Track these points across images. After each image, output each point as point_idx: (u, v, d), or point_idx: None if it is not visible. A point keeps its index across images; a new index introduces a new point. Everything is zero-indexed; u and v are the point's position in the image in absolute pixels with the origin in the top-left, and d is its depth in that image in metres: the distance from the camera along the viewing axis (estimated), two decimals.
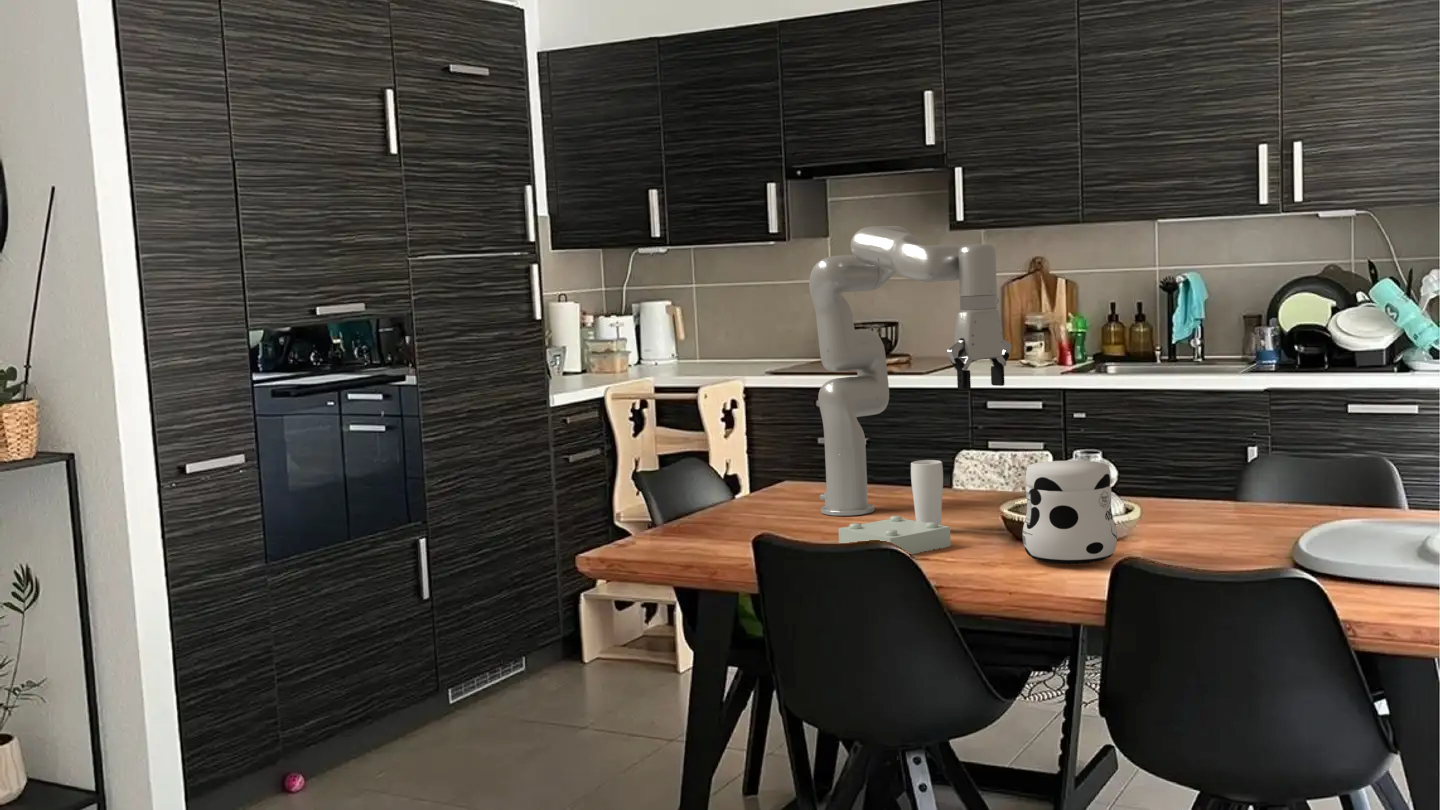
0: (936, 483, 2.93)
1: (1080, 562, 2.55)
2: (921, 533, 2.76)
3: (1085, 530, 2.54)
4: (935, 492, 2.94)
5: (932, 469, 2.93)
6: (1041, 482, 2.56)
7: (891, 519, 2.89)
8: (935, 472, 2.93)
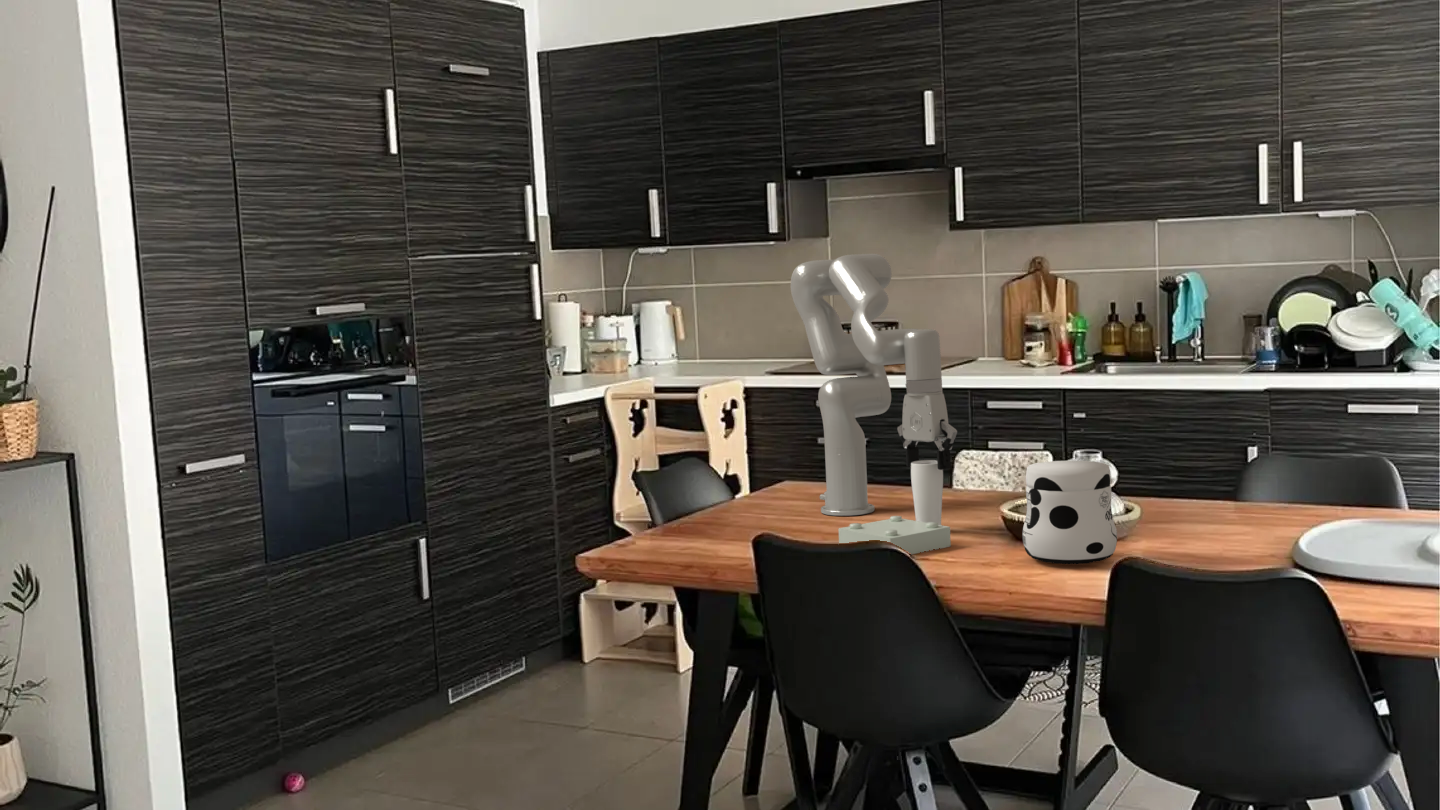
0: (936, 483, 2.93)
1: (1080, 562, 2.55)
2: (921, 533, 2.76)
3: (1085, 530, 2.54)
4: (935, 492, 2.94)
5: (932, 469, 2.93)
6: (1041, 482, 2.56)
7: (891, 519, 2.89)
8: (935, 472, 2.93)
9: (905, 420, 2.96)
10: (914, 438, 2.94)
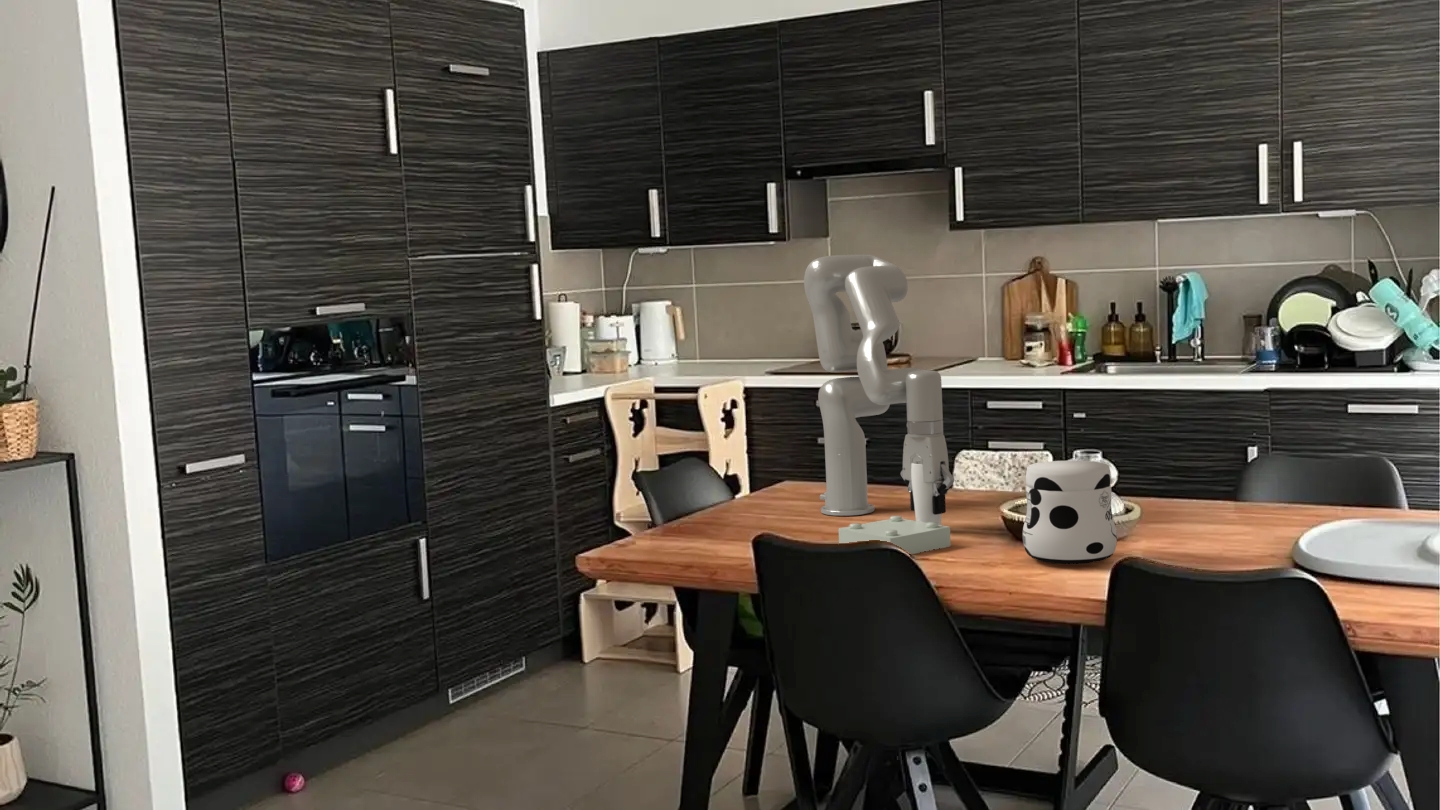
0: None
1: (1080, 562, 2.55)
2: (921, 533, 2.76)
3: (1085, 530, 2.54)
4: None
5: None
6: (1041, 482, 2.56)
7: (891, 519, 2.89)
8: None
9: (905, 460, 2.97)
10: None
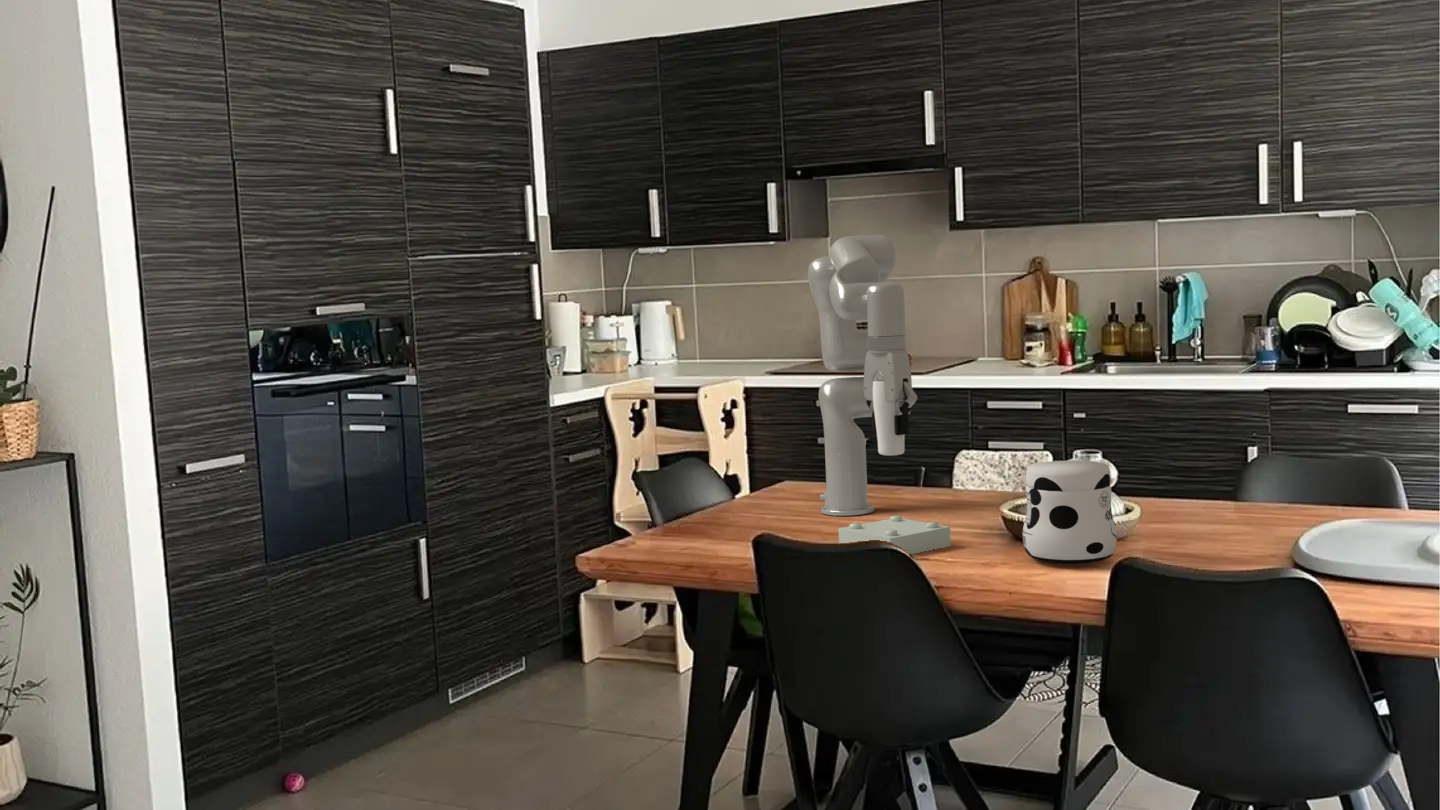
0: None
1: (1080, 562, 2.55)
2: (921, 533, 2.76)
3: (1085, 530, 2.54)
4: None
5: None
6: (1041, 482, 2.56)
7: (891, 519, 2.89)
8: None
9: (867, 379, 2.81)
10: None
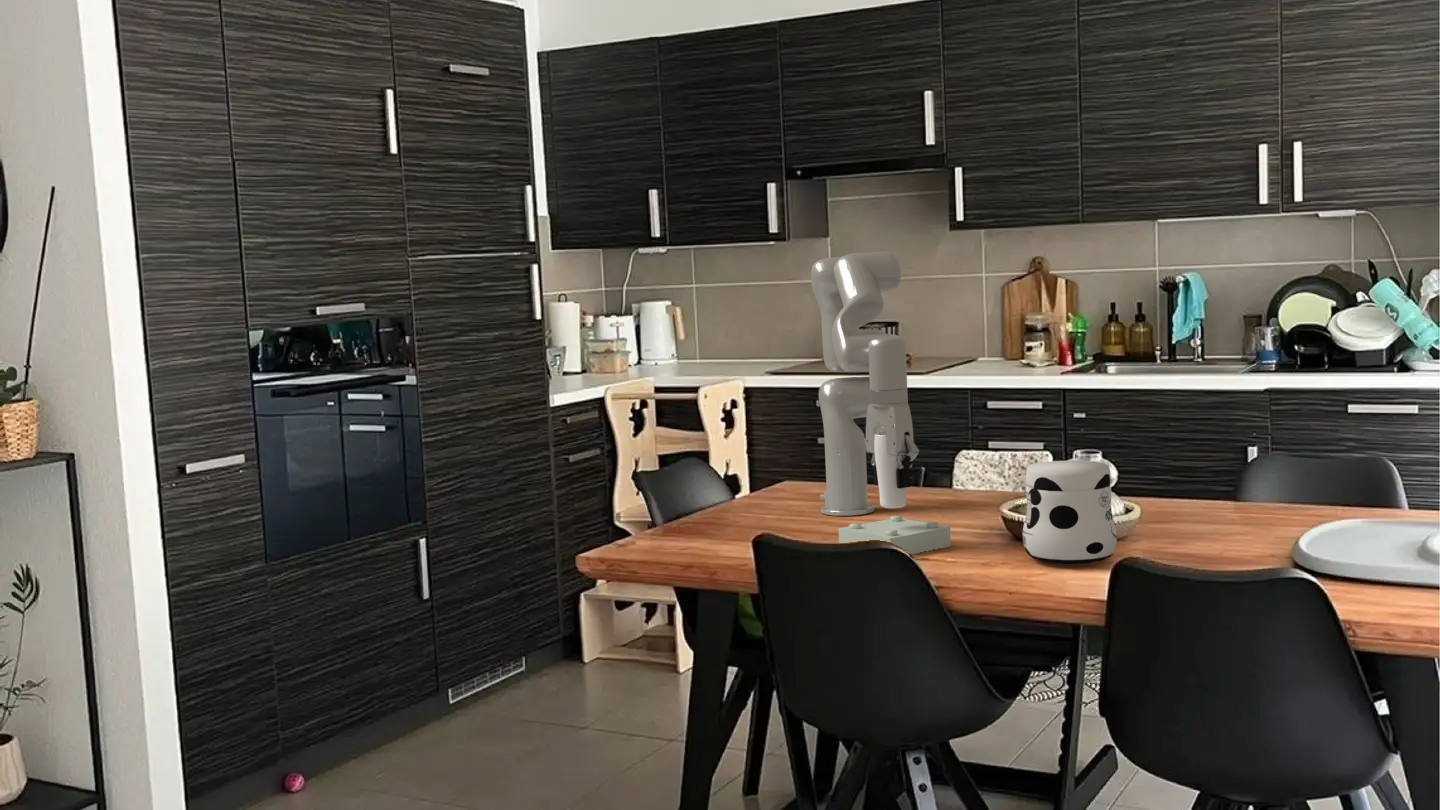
0: None
1: (1080, 562, 2.55)
2: (921, 533, 2.76)
3: (1085, 530, 2.54)
4: None
5: None
6: (1041, 482, 2.56)
7: (891, 519, 2.89)
8: None
9: (868, 431, 2.82)
10: None
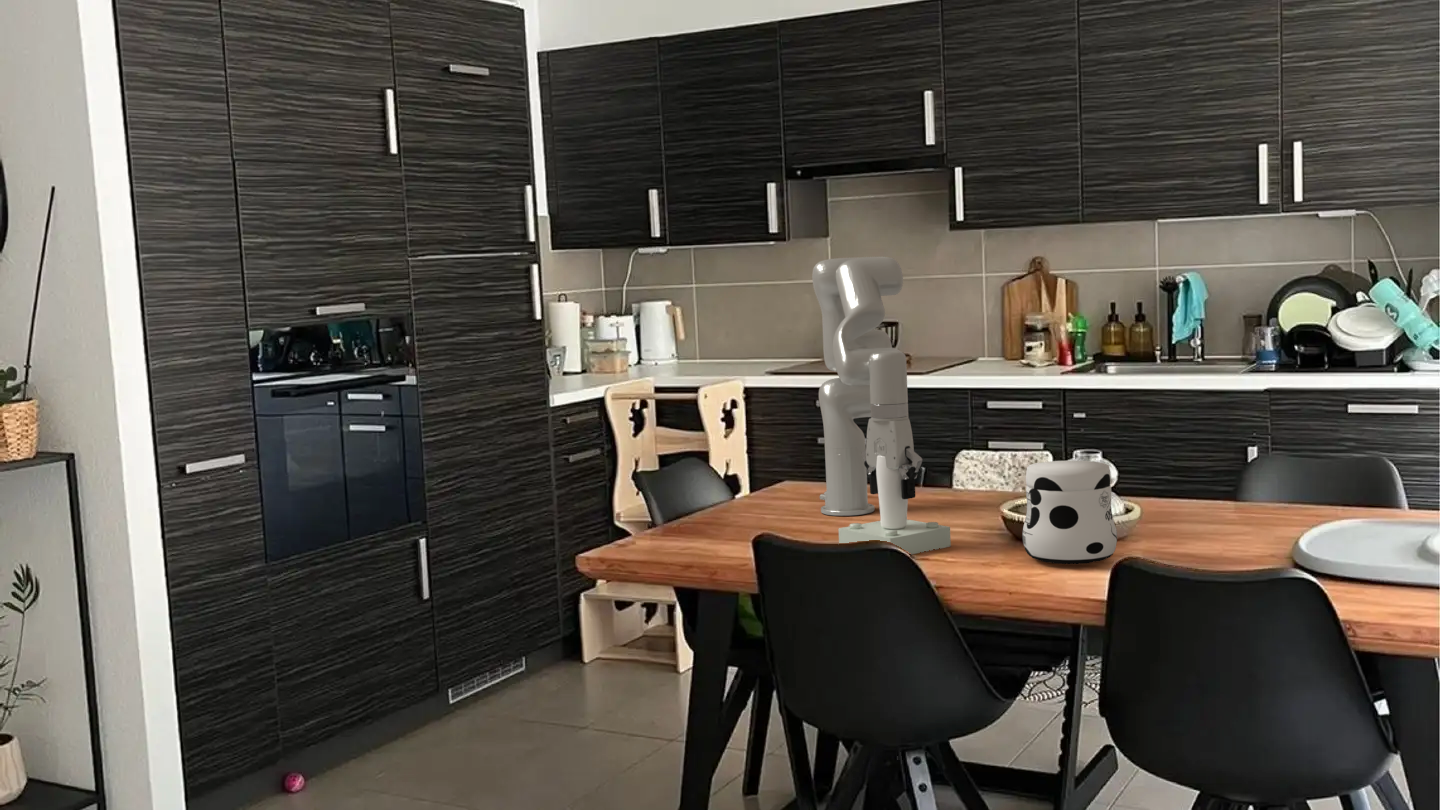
0: (902, 477, 2.78)
1: (1080, 562, 2.55)
2: (921, 533, 2.76)
3: (1085, 530, 2.54)
4: None
5: None
6: (1041, 482, 2.56)
7: None
8: None
9: (869, 445, 2.82)
10: None
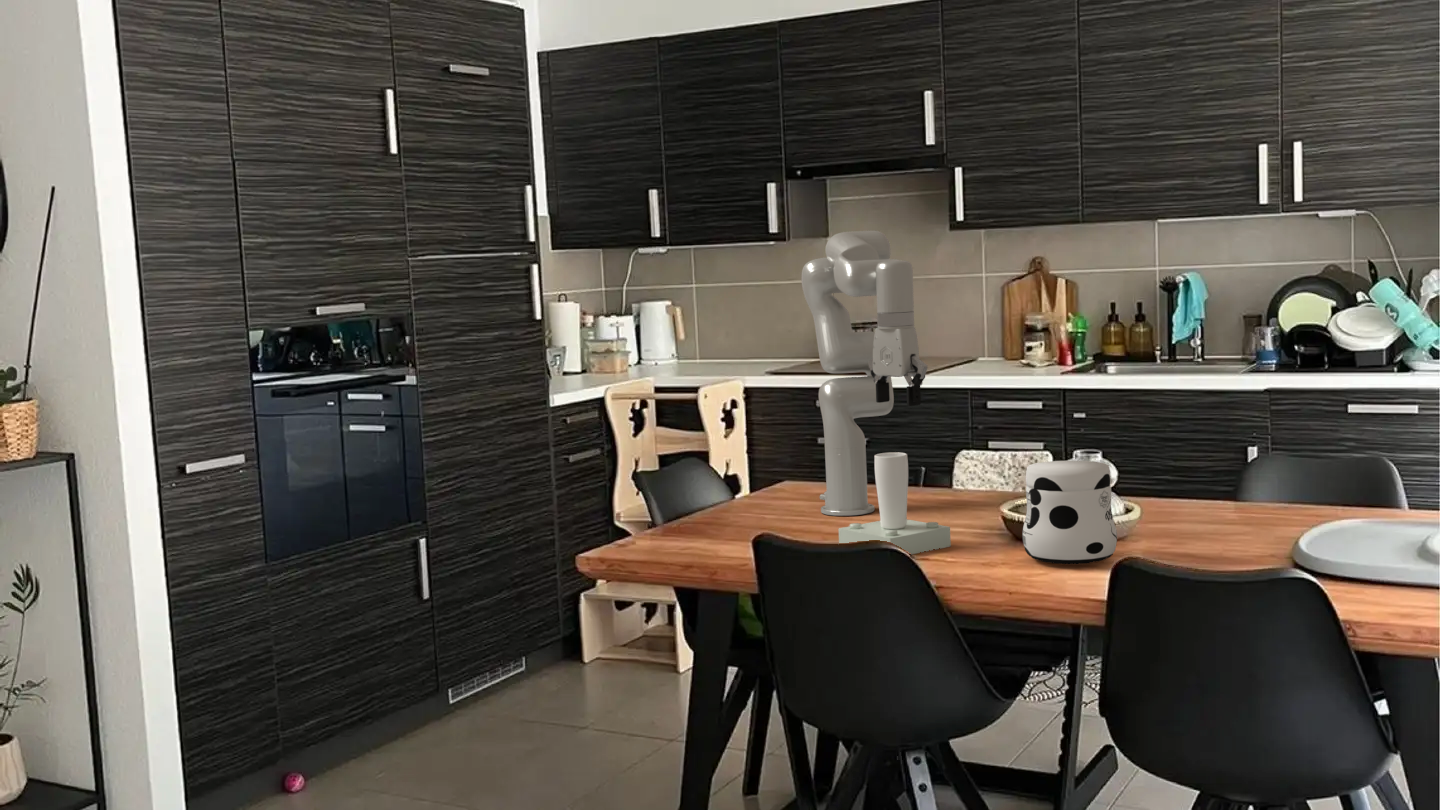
0: (900, 476, 2.78)
1: (1080, 562, 2.55)
2: (921, 533, 2.76)
3: (1085, 530, 2.54)
4: (899, 486, 2.79)
5: (896, 461, 2.78)
6: (1041, 482, 2.56)
7: None
8: (899, 465, 2.78)
9: (875, 354, 2.87)
10: (884, 373, 2.85)
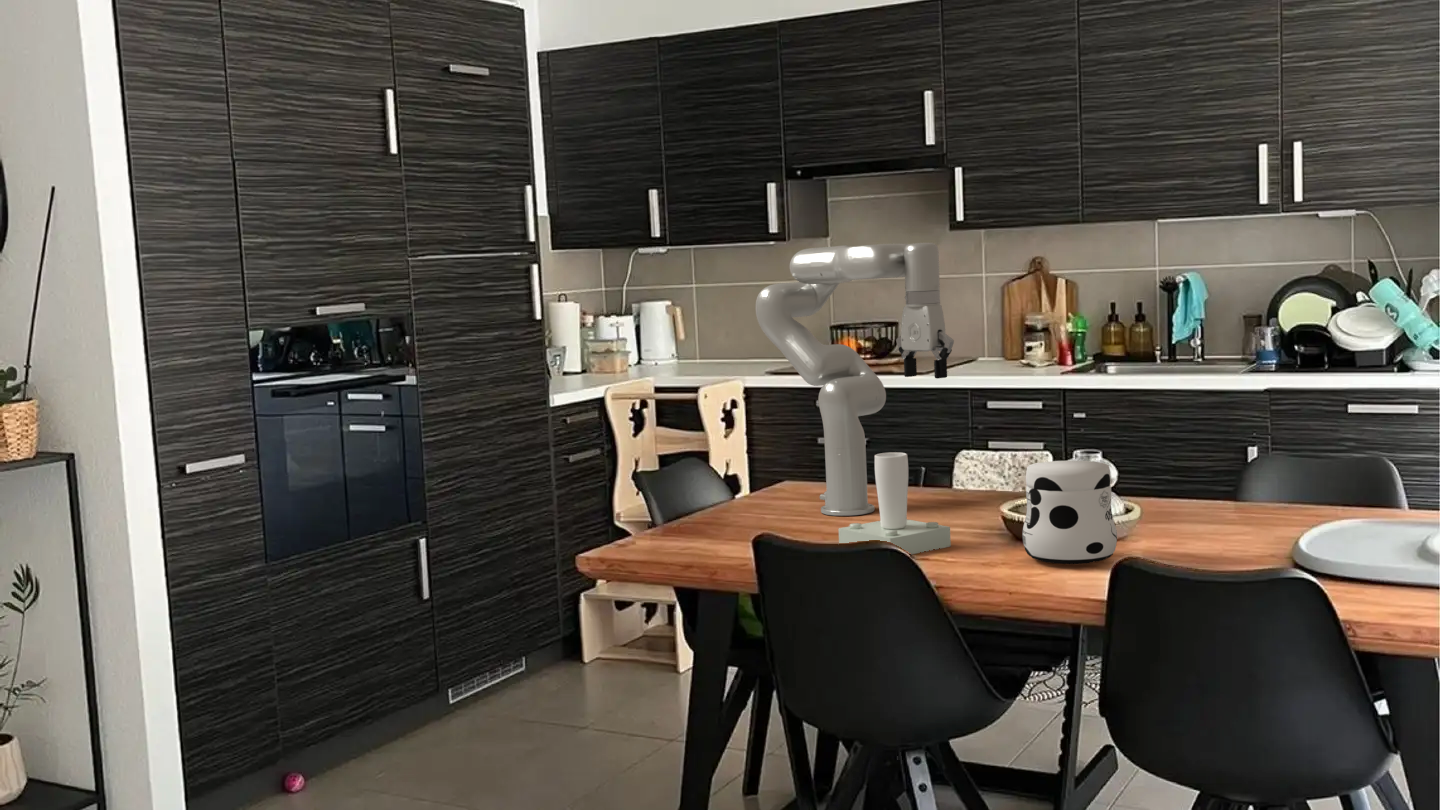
0: (901, 477, 2.78)
1: (1080, 562, 2.55)
2: (921, 533, 2.76)
3: (1085, 530, 2.54)
4: (900, 486, 2.79)
5: (896, 462, 2.78)
6: (1041, 482, 2.56)
7: None
8: (899, 465, 2.78)
9: (904, 331, 3.06)
10: (912, 348, 3.04)
